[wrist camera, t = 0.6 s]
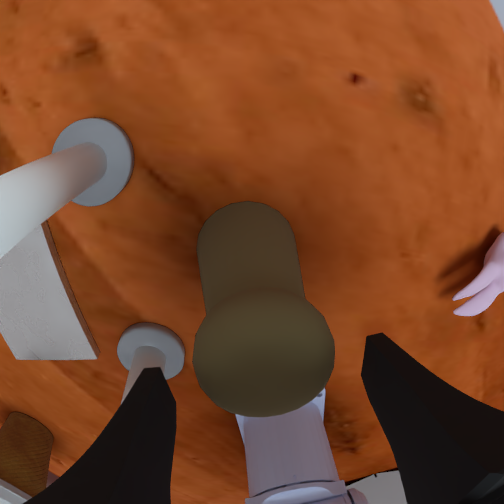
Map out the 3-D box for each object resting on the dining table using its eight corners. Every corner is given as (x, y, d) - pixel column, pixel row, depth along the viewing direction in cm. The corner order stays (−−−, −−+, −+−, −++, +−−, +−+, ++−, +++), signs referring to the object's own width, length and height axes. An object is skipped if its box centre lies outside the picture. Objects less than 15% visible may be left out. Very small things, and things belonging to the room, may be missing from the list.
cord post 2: (191, 368, 24) (185, 497, 14) (133, 372, 24) (107, 492, 14) (175, 319, 22) (155, 460, 12) (110, 325, 22) (65, 453, 12)
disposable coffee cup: (-11, 410, 26) (-41, 480, 16) (16, 395, 25) (-20, 482, 14) (43, 452, 30) (24, 521, 20) (79, 443, 29) (60, 528, 18)
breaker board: (99, 352, 23) (86, 389, 19) (20, 353, 22) (2, 384, 19) (34, 177, 16) (-1, 196, 13) (-45, 207, 16) (-77, 227, 13)
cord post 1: (141, 192, 18) (59, 299, 8) (69, 208, 18) (-39, 309, 8) (125, 108, 16) (6, 123, 6) (51, 130, 15) (-86, 177, 6)
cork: (290, 290, 21) (336, 429, 12) (198, 291, 21) (187, 438, 11) (299, 202, 19) (378, 314, 9) (195, 201, 18) (165, 321, 8)
